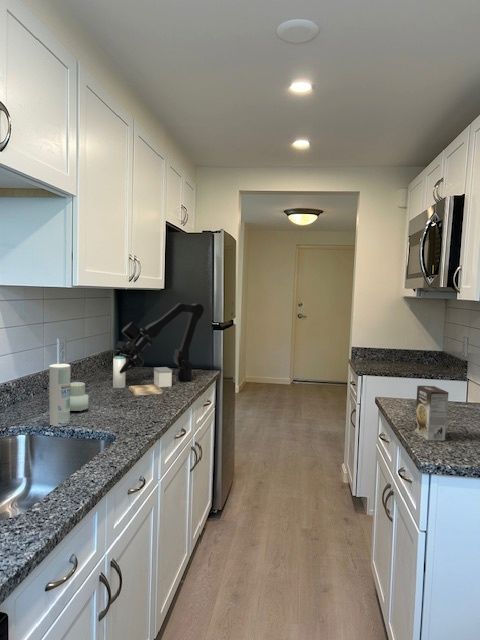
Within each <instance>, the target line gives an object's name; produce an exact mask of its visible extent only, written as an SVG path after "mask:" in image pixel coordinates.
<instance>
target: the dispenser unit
mask: <svg viewBox="0 0 480 640" xmlns="http://www.w3.org/2000/svg"><path fill="white" fill-rule="evenodd" d="M172 376H173V370H172V369H171V368H169V367H167V366H162V367H153V385H156V386H158V387H159V388H166V387H172V379H173V377H172Z"/></svg>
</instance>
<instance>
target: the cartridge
mask: <svg viewBox="0 0 480 640" xmlns="http://www.w3.org/2000/svg"><path fill="white" fill-rule="evenodd" d="M112 361H113V362H112V363H113V364H112V388H113V389H123V388H125V387H126V372H127V371H125V372H123V373H120V370H121V368H122V367H123V365H124V364H125V363H126V358H125V357H124V356H115V355H114V357H113V360H112Z"/></svg>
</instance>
